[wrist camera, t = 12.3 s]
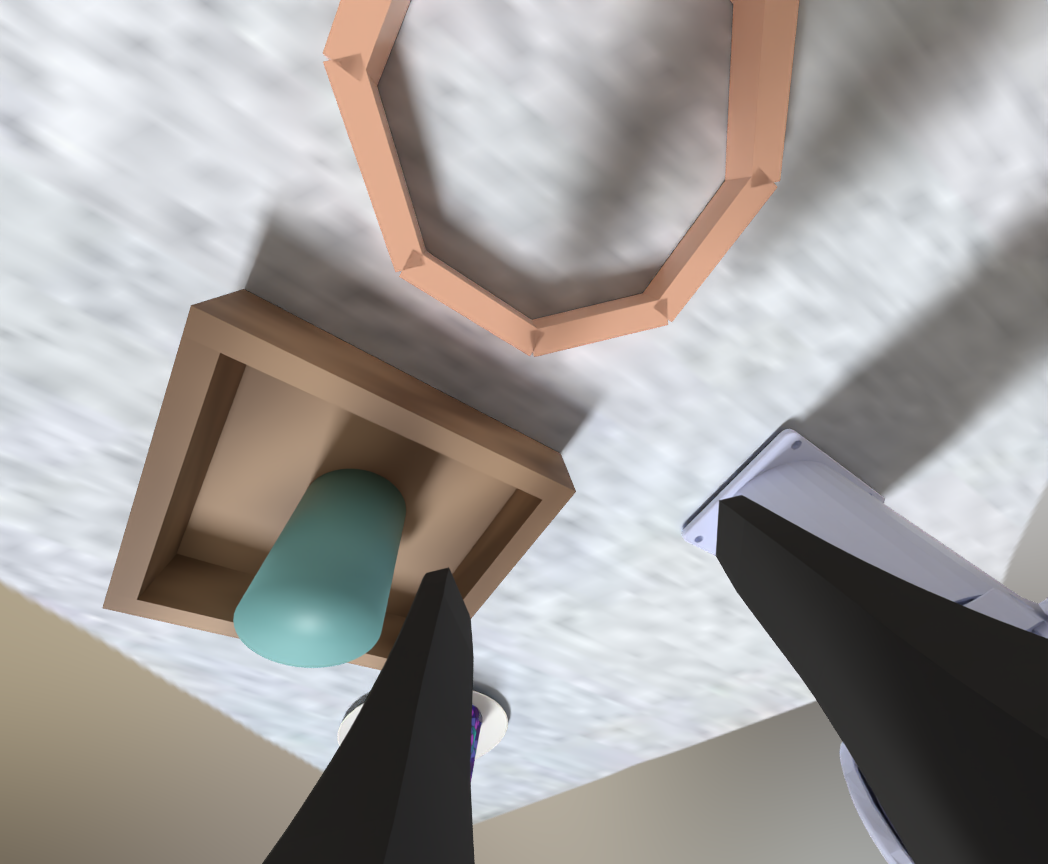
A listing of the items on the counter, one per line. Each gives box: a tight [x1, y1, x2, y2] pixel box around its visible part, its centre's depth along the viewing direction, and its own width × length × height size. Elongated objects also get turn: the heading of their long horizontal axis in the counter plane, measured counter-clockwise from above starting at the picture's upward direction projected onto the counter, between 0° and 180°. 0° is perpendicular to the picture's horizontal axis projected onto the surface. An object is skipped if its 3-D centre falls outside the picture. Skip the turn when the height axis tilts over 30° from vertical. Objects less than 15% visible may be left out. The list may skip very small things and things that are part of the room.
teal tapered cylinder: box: [233, 469, 406, 668], centre depth 16 cm, size 4×6×6 cm
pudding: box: [338, 691, 508, 778], centre depth 27 cm, size 12×12×5 cm
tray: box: [103, 289, 576, 670], centre depth 17 cm, size 14×14×3 cm
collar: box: [323, 0, 799, 357], centre depth 12 cm, size 13×13×2 cm
